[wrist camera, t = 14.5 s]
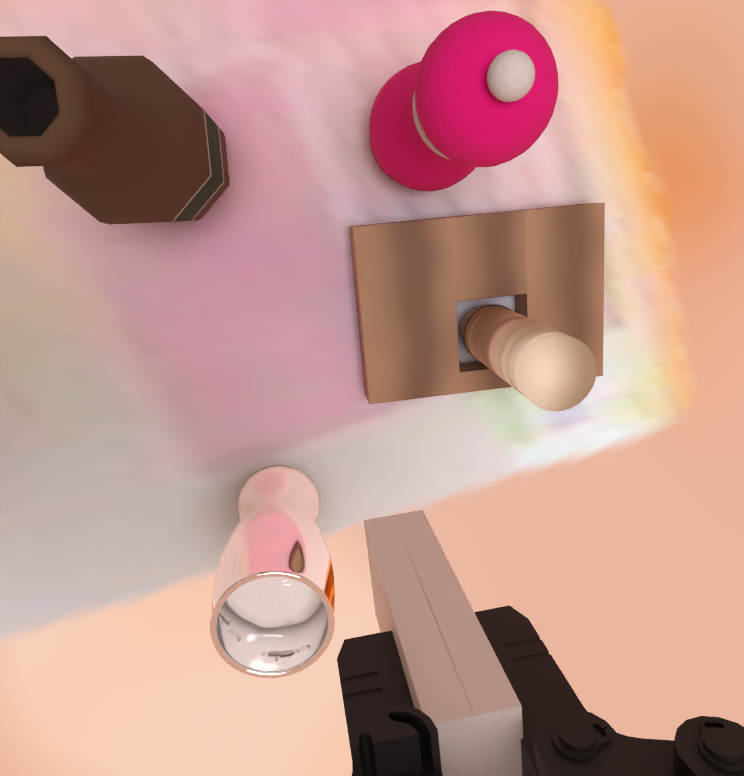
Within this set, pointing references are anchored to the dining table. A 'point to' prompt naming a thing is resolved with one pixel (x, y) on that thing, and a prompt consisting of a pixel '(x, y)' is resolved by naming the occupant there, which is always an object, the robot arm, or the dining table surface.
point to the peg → (530, 356)
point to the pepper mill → (465, 102)
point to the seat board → (471, 290)
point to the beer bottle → (109, 133)
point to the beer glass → (274, 579)
